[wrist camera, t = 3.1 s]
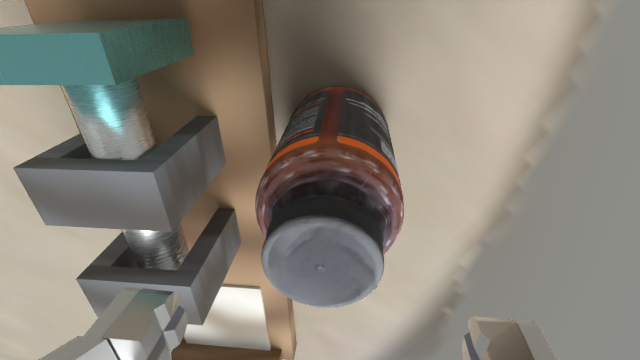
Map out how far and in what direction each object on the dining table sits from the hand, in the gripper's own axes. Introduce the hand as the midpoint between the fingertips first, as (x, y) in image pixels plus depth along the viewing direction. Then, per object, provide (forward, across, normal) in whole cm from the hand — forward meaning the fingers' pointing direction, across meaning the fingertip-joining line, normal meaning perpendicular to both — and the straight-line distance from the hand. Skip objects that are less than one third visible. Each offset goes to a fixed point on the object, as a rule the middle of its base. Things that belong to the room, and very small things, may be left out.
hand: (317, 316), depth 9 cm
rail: (+13, +10, +6) cm, 18 cm away
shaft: (+10, +10, 0) cm, 14 cm away
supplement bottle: (+13, 0, -1) cm, 13 cm away
